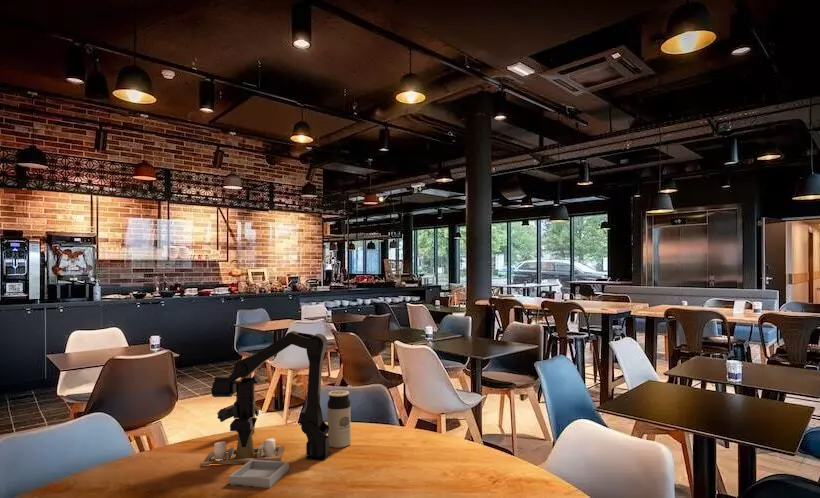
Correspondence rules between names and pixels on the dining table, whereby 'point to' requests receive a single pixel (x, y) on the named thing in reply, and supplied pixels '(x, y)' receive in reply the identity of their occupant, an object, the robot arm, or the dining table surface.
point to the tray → (259, 473)
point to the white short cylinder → (220, 450)
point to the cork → (245, 448)
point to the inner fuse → (269, 447)
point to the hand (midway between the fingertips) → (245, 444)
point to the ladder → (232, 450)
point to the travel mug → (339, 419)
